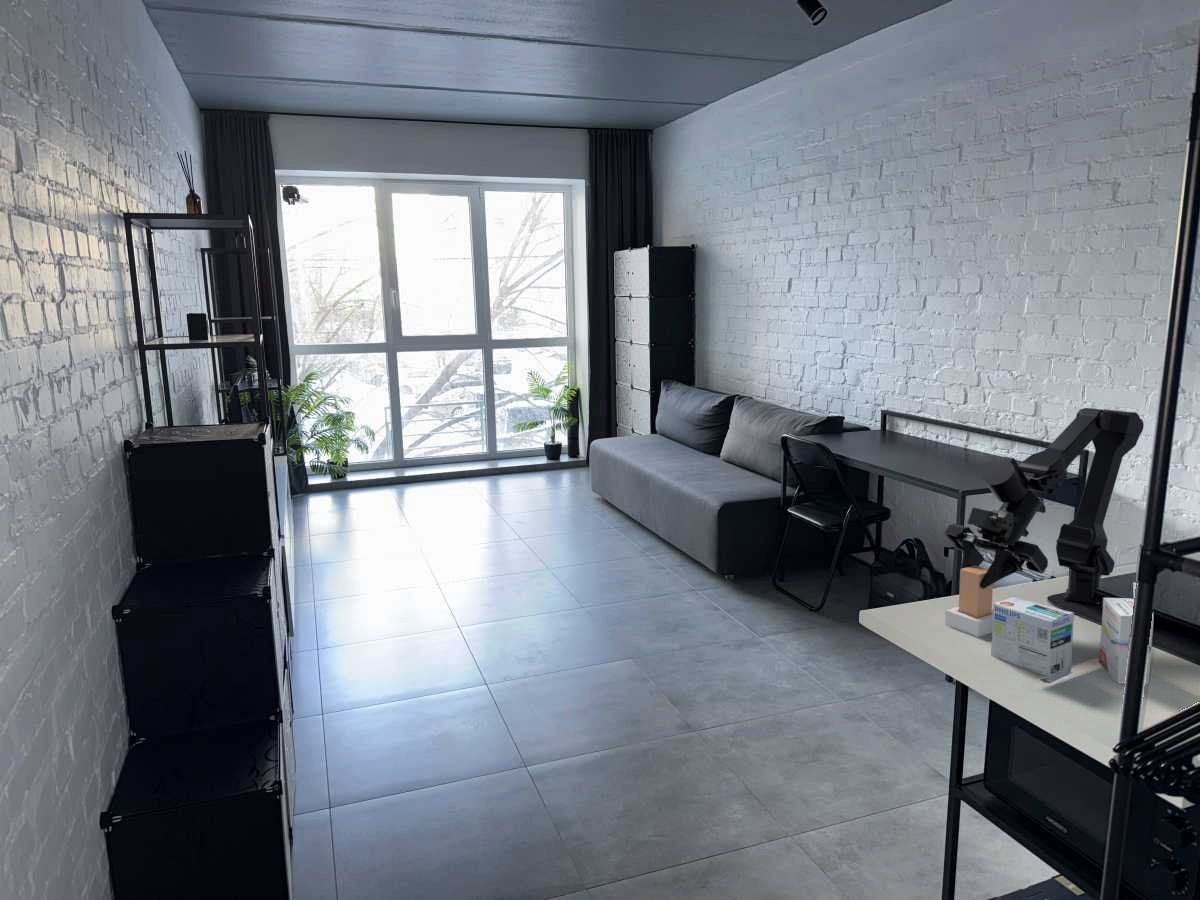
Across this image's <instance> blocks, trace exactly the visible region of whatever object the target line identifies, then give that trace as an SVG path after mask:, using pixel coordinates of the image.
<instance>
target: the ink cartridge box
mask: <svg viewBox="0 0 1200 900" xmlns="http://www.w3.org/2000/svg"><path fill="white" fill-rule="evenodd" d="M1136 584H1137V583H1136V581H1134V582H1132V587H1133V588H1132V589H1133V590H1132V591H1133V593H1132V594H1133V598H1128V597H1126V598H1124V597H1121V598H1120V597H1102V615H1101V630H1100V642H1099V655H1098V656H1099V657H1098V658H1099V659H1098V663H1100V665H1101V666H1102V667H1103V668H1104V670H1105V671H1106V670H1107V671H1106V672H1107V673H1108V675H1111V676H1112V677H1113V678H1112V677H1111V676H1110V677H1111V678H1112V679H1113V681H1114V680H1115V681H1116V682H1118V683H1119V682H1121V683H1122V682H1123V685H1125V684H1124V682H1125V676H1126V667H1127V659H1128V651H1129V643H1130V635H1131V624H1132V615H1133V606H1134V598H1135V589H1136ZM1154 618H1155V617H1154V612H1153V613H1152V621H1151V629H1150V637H1149V651H1148V663H1147V673H1146V683H1145V685H1144V686H1147V685H1149V683H1150V681H1149V680H1150V669H1151V655H1152V644H1153V632H1154V621H1155V620H1154ZM1115 681H1114V682H1115ZM1116 682H1115V683H1116ZM1118 683H1117V684H1118ZM1119 684H1120V683H1119Z"/></svg>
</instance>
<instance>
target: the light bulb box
mask: <svg viewBox="0 0 1200 900" xmlns="http://www.w3.org/2000/svg"><path fill="white" fill-rule="evenodd" d="M992 606H993V607H992V610H993V624H992V633H991V649H990V656H992V657H994V658H996V659H999V660H1002V661H1004V662H1007V663H1010V664H1013V665H1015V666H1018V667H1021V668H1023V669H1027V670H1029V671H1032V672H1035V673H1037V674H1040V675H1043V676H1045V677H1043V678H1041V679H1039V680H1040V681H1042V682H1046V683H1048V684H1049V683H1050V682H1053V681H1056V680H1057V679H1060V678H1062V677H1065V676H1067V675H1069V674H1071V673H1072V658H1073V657H1072V655H1073V653H1072V652H1073V637H1074V618H1075V613H1074V612H1073V611H1068V610H1064V609H1061V608H1057V607H1053V606H1049V605H1046V604H1043V603H1040V602H1035V601H1032V600H1028V599H1025V598H1022V597H1019V596H1016V595H1015V596H1012V597H1009V598H1006V599H1003V600H1000V601H996V602H994V603H993V604H992Z"/></svg>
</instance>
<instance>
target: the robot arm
mask: <svg viewBox="0 0 1200 900" xmlns="http://www.w3.org/2000/svg"><path fill="white" fill-rule="evenodd" d="M1140 417H1141V416H1140V415H1139V414H1138V412H1135V411H1127V410H1126V411H1125V410H1116V409H1103V408H1102V409H1099V408H1090V407H1085V408H1080V409H1079V410H1078V411H1077V413H1076V416H1075V418H1074V419H1073V420H1072V422H1071V423H1069V424H1068V426H1066V428H1065V429H1064V430H1063V431H1062V432H1061V433H1060V434H1059V435H1058V436H1057V437H1055V439H1054V440H1053V441H1052V442H1051V443H1050V445H1049V446H1048V447H1046V448H1045V449H1043V450H1041V451H1039V452H1036V453H1032V454H1030V455H1029V456H1028V457H1027V458H1025V459H1024V460H1023V461H1022V462H1020V464H1018V461H1017V460H1016V458H1015V457H1009V456H1003V458H1002V459H1001V460H999V461H996V462H994V463H991V464H990V465H989V466H988V467H985V468H984V470H983V472H982V476H981V477H982V480H983V482H984V483H985V485H986V486H987V488H988V489H989V490H990V491H991V493H992V494H993V496H994V497H995V498H996V500H997V501H999V502H1001V503H1002V504H1001V505H1000V507H999V508H998V510H995V509H992V510H986V509H982V508H977V507H972V508H971V511H970V513H969V516H968V520H967V522H966V523H967V524H968V525H972V526H974V527H977V528H976V531H977V532H978V534H981V535H982V536H977V535H975V533H974V532H973V531H972V530H971V528H970V527H968V526H965V525H961V524H957V523H952V524H949V525H948V526H947V527H946V529H945V530H944V532H943V534H944V535H945V537H947V539H948V540H949V541H950V543H951V544H952V545H953V546H954V548H956V550H959V551H962V552H963V553H962V554H963V557H962V562H961V563H962V564H961V568H960V569H963V568H967V567H971V566H974V565H975V566H979V567H980V565H981V564H983V562H984V561H985V558H984V556H983V555H982V554H981V552H982V549H983V550H987V551H991V552H994V559H993V561H992V563H991V564H990V566H989V568H987V569H988V571H987V572H986V574H985V575H984V577H983V579H982V581H981V583H980V587H981V588H983V589H984V588H986V587H988V586H990V585H991V584H993V585H994V584H995V583H997V582H998V581H1000V580H1002V579H1004V578H1006V577H1008V576H1010V575H1013V574H1015V573H1017V572H1020V573H1021V572H1023V571H1024V568H1023V566H1024V564H1025V566H1026V568H1027V570H1028V571H1031V572H1035V573H1038V574H1044V572H1046V569H1047V568H1048V565H1049V560H1048V558H1047V557H1046V555H1045V554H1044V552H1043V551H1042V549H1041V548H1040V547H1039V545H1038V544H1034V543H1030V542H1028V541H1027V542H1026V541H1023V540H1020V539H1021V538H1022V537H1025V538H1027V537H1028V536H1029V533H1030V532H1029V531H1028V530H1027V528H1028V526H1029V525H1030V523H1031V521H1033V519H1034V517H1035V515H1036V513H1041V514H1044V513H1046V511H1047V510H1046V506H1045V505H1046V504H1045V502H1044V501H1045V500H1044V498H1042V497H1039V495H1038V494H1037V493H1043V494H1048V495H1055V493H1057V492H1058V491H1059V490H1060V489H1061V487H1062V486H1063V484H1065V481H1066V480H1067V479H1068V468H1069V466H1070V465H1071V464H1072V463H1073V461H1075V459H1076V458H1077V457H1078V456H1079V455H1080V454H1081V453H1082V452H1083V451H1084V450H1085V449H1086V447H1088V446H1089V444H1090V443H1091V442H1092V443H1093V446H1094V447H1093V448H1094V449H1095V451H1094V454H1093V457H1092V460H1091V463H1090V467H1089V472H1088V475H1087V478H1086V482H1085V485H1084V488H1083V491H1082V496H1081V498H1080V503H1079V506H1078V509H1077V512H1076V515H1075V518H1073V520H1071V522H1069V523H1063V524H1062V526H1060V530H1059V531H1060V532H1059V535H1058V538H1057V539H1056V541H1055V543H1056V545H1055V549H1056V550H1055V551H1056V556H1057V561H1058V566H1059V567H1065V568H1068V569H1069V570H1068V583H1067V588H1066V590H1065V593H1064V597H1063V599H1064V600H1065V601H1070V600H1075V601H1074V602H1077V601H1083V602H1082V603H1084V602H1092V603H1098V602H1097V601H1096V598H1095V594H1094V590H1095V589H1097V588H1099V587H1100V588H1101V583H1102V576H1107V577H1108V576H1111V573H1113V571H1114V568H1115V563H1116V562H1115V561H1114V559H1113V558H1112V556H1111V554H1110V553H1109V552H1108V551H1107V546H1108V537H1107V534H1106V531H1105V529H1104V522H1105V520H1106V519H1105V518H1106V515H1107V513H1108V508H1109V505H1110V501H1111V499H1112V494H1113V491H1114V488H1115V484H1116V481H1117V477H1118V475H1119V472H1120V468H1121V465H1122V464H1121V463H1122V461H1123V458H1124V456H1126V455H1127V454H1128V453H1129V452H1130V451H1131V450H1132V449H1134V447H1136V446H1137V444H1138V441H1139V439H1140V436H1141V434H1142V433H1143V431H1144V427H1145V426H1144V421H1143V419H1142V418H1140ZM1036 492H1037V493H1036ZM1025 562H1026V563H1025Z"/></svg>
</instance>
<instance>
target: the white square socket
mask: <svg viewBox="0 0 1200 900" xmlns="http://www.w3.org/2000/svg"><path fill="white" fill-rule="evenodd" d="M944 615H945V616H944V617H945V618H944V624H945V626H948V627H950V628H953V629H956V630H959V631H961V632H964V633H966V634H969V635H972V636H974V637H977V638H978V637H982V636H985V635H989V634H992V624H993V609H992V613H991V615H988V616H985V617H981V618H978V619H977V618H974V617H971V616H968V615H966V614H963V613H960V612H959V605H958V606H955V607H952V608H948V609H945V613H944Z"/></svg>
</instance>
